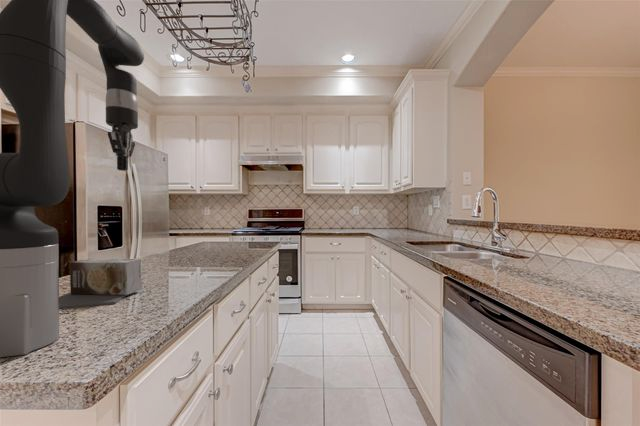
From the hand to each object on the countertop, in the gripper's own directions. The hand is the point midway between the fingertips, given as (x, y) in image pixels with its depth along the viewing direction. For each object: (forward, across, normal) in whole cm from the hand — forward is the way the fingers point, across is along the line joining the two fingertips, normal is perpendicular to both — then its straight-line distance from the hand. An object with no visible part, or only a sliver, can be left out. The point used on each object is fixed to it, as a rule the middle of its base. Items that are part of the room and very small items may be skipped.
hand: (122, 170), depth 81 cm
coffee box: (+30, -3, -4) cm, 30 cm away
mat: (+35, -5, +6) cm, 36 cm away
